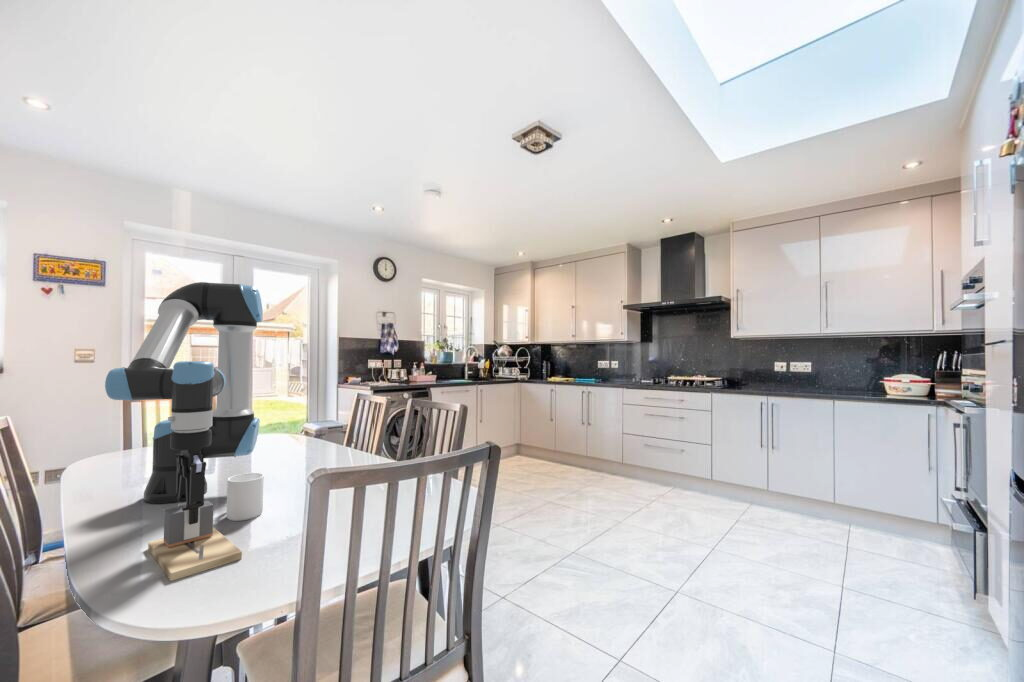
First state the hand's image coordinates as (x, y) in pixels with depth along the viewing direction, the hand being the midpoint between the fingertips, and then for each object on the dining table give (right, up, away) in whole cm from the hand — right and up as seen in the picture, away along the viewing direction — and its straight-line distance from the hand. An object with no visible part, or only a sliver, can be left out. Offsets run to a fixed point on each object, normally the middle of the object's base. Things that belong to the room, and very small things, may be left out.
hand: (188, 533), depth 97 cm
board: (+4, -3, -3) cm, 6 cm away
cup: (0, -4, +20) cm, 20 cm away
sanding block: (0, -1, 0) cm, 1 cm away
